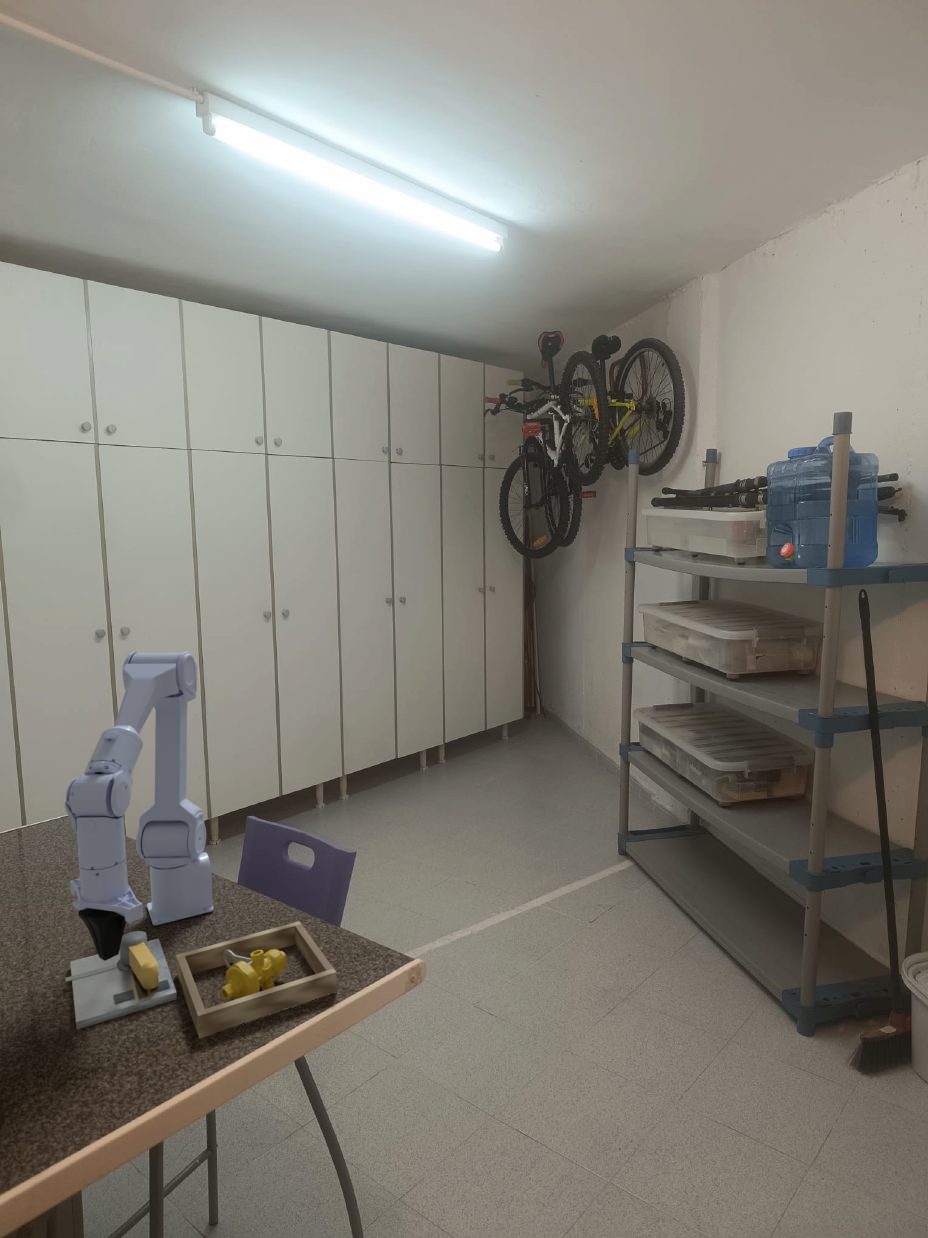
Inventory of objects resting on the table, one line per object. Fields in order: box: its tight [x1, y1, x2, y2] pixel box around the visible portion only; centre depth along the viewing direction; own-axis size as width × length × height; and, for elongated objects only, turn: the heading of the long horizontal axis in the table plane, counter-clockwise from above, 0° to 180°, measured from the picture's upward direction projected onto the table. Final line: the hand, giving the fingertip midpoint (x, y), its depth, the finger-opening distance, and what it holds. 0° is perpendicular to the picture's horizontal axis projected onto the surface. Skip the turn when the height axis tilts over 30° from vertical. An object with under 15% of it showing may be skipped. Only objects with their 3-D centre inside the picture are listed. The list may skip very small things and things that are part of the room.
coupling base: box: [64, 938, 178, 1030], centre depth 102 cm, size 13×16×1 cm
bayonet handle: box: [120, 930, 159, 989], centre depth 103 cm, size 11×4×3 cm, turn 39°
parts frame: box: [175, 921, 338, 1040], centre depth 102 cm, size 18×16×3 cm
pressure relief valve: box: [220, 949, 288, 1002], centre depth 102 cm, size 6×12×10 cm
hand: (109, 956), depth 100 cm, fingers closed
